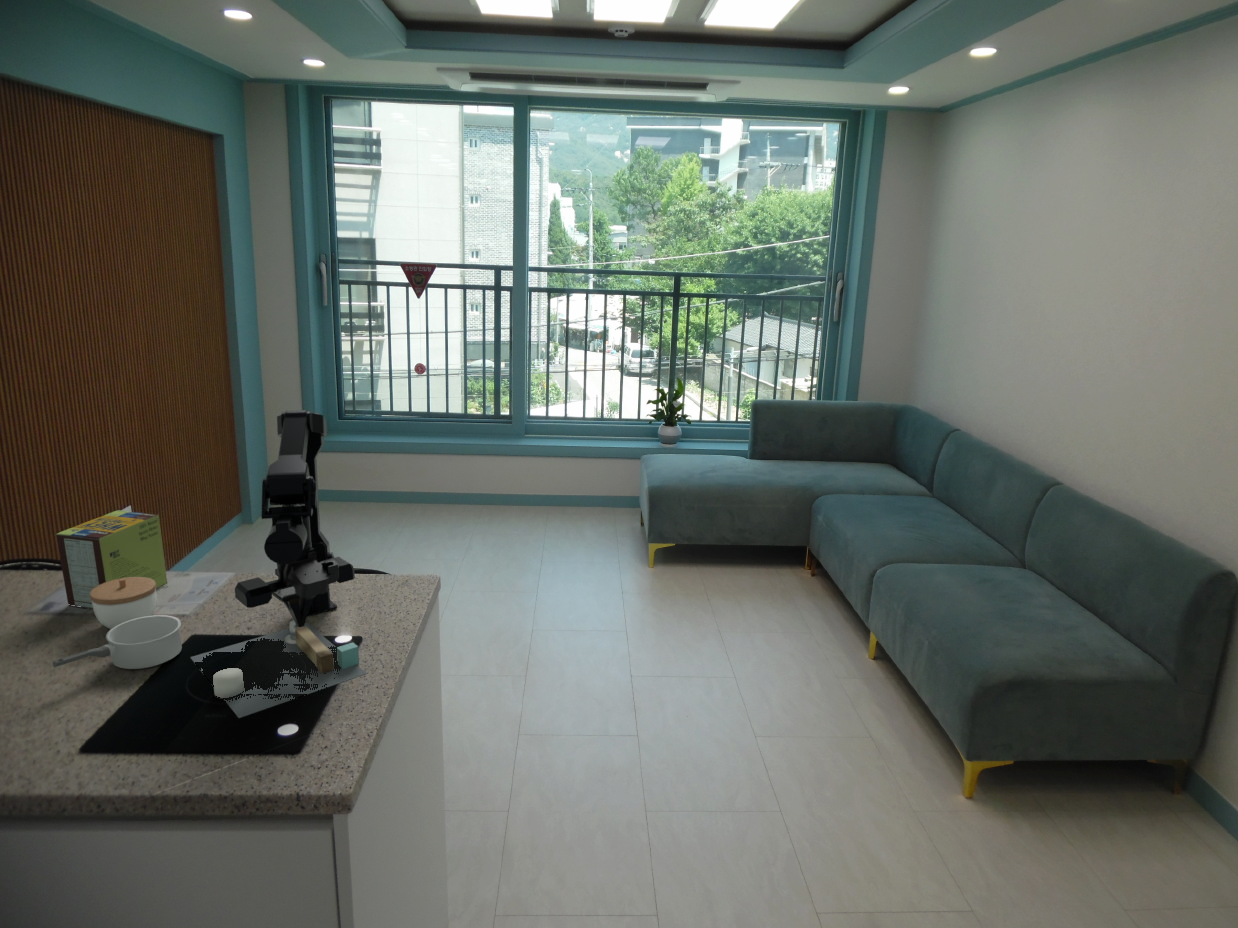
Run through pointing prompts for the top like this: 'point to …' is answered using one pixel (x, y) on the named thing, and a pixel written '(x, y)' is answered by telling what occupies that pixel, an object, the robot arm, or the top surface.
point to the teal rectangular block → (347, 655)
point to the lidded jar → (123, 600)
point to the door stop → (228, 682)
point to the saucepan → (137, 643)
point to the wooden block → (314, 649)
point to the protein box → (110, 553)
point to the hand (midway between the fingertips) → (300, 626)
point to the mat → (257, 702)
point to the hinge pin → (292, 633)
